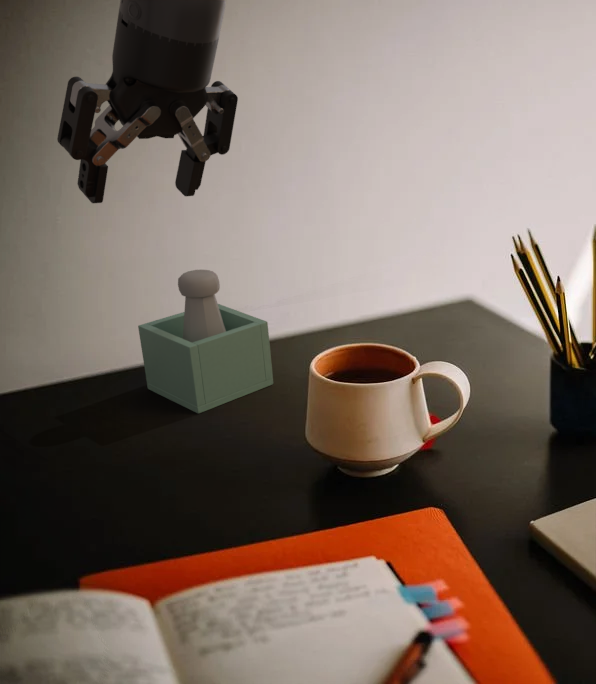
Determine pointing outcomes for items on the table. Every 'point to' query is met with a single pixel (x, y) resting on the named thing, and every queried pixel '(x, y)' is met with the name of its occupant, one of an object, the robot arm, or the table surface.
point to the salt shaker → (200, 305)
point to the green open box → (207, 360)
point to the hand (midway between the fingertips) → (139, 195)
